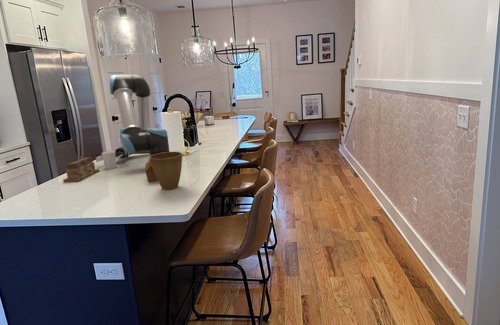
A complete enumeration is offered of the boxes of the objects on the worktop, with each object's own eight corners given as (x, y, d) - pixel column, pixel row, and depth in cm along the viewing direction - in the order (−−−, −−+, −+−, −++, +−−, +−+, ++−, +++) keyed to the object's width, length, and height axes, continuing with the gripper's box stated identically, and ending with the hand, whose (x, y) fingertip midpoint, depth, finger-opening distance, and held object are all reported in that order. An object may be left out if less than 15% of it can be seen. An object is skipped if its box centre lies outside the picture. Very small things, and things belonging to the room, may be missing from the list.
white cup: (106, 166, 214) (104, 151, 212) (119, 165, 215) (116, 150, 212) (102, 169, 207) (99, 153, 204) (115, 168, 207) (113, 152, 205)
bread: (167, 180, 171) (165, 162, 169) (146, 183, 169) (143, 164, 167) (168, 172, 189) (166, 155, 187) (149, 174, 187) (146, 157, 185)
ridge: (85, 172, 203) (82, 156, 201) (99, 171, 202) (97, 156, 200) (63, 182, 181) (60, 165, 179) (79, 181, 181) (76, 164, 178)
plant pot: (151, 186, 162) (147, 154, 159) (182, 181, 168) (178, 150, 164) (156, 194, 149) (151, 160, 145) (188, 188, 154) (185, 155, 151)
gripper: (140, 157, 227) (127, 164, 206) (105, 158, 229) (89, 166, 208) (139, 146, 225) (125, 152, 204) (103, 148, 227) (86, 154, 207)
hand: (107, 159), depth 206 cm, fingers open, 13 cm apart
